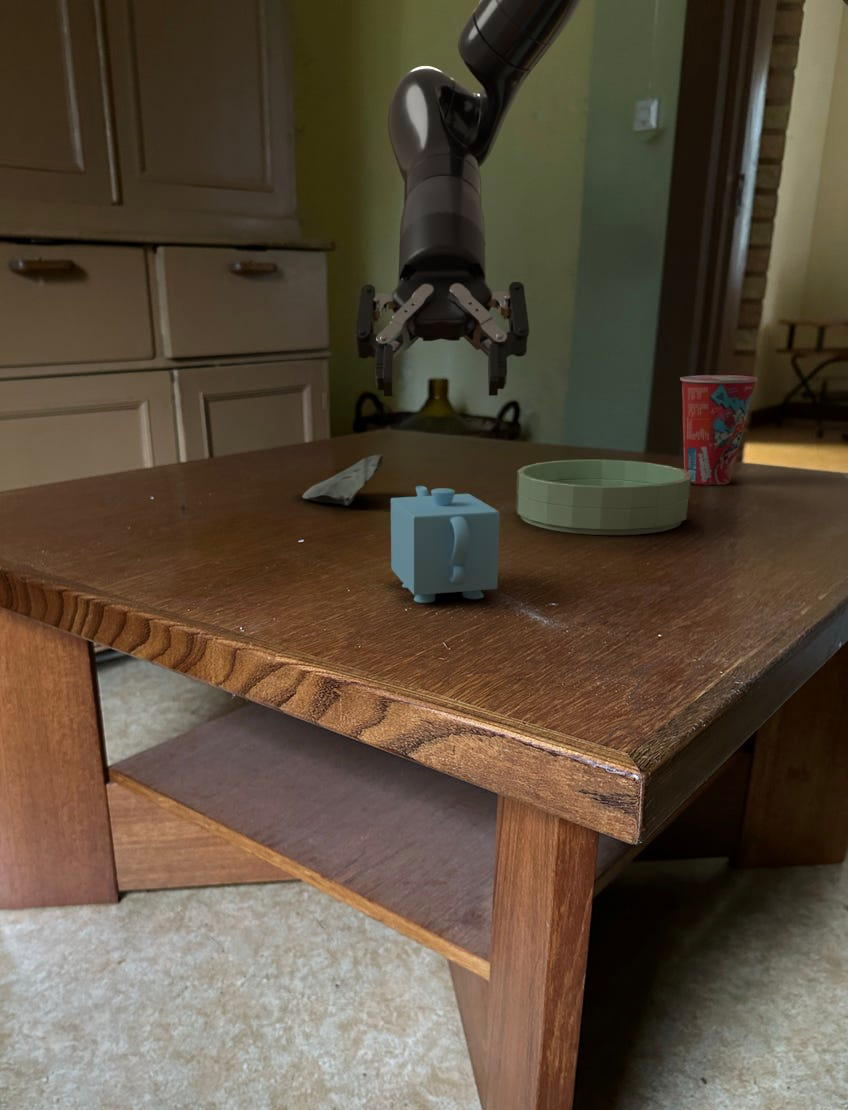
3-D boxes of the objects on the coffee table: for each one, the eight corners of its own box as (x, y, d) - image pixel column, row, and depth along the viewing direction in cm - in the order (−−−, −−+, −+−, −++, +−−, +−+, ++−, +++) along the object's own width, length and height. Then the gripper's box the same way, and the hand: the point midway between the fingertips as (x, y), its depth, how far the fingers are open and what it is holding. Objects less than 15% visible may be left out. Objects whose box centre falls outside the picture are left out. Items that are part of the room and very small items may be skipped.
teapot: (382, 569, 73) (380, 476, 71) (454, 564, 74) (456, 472, 72) (419, 614, 62) (419, 505, 60) (504, 607, 63) (507, 500, 61)
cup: (757, 487, 105) (770, 378, 101) (683, 488, 105) (694, 380, 101) (727, 473, 113) (738, 373, 109) (658, 474, 114) (668, 374, 110)
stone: (304, 523, 95) (395, 492, 95) (291, 486, 94) (383, 455, 94) (309, 512, 105) (390, 484, 105) (297, 479, 105) (380, 451, 104)
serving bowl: (664, 501, 98) (668, 459, 96) (706, 536, 82) (712, 486, 81) (510, 501, 99) (511, 460, 97) (523, 536, 83) (525, 487, 82)
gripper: (358, 211, 78) (349, 358, 71) (527, 206, 76) (534, 355, 70) (364, 280, 84) (356, 420, 77) (519, 277, 83) (525, 419, 76)
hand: (440, 389), depth 73 cm, fingers open, 8 cm apart
